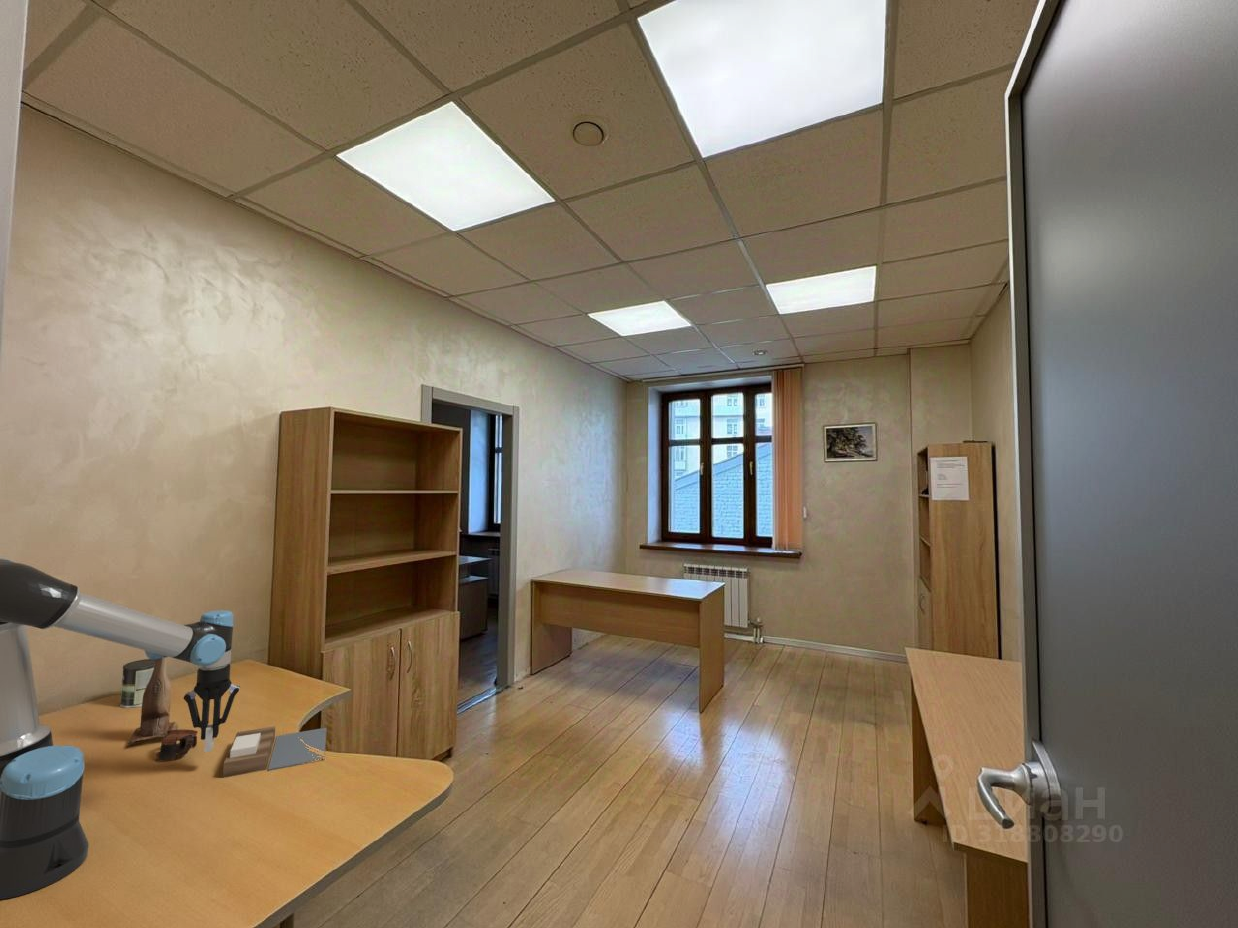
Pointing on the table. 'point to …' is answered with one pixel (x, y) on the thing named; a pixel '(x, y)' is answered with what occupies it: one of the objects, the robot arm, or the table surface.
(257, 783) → the table surface
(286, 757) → the mat
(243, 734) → the block
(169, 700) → the brown tall tapered piece
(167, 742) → the pottery mug
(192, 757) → the table surface
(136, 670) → the coffee can
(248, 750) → the white rectangular block
